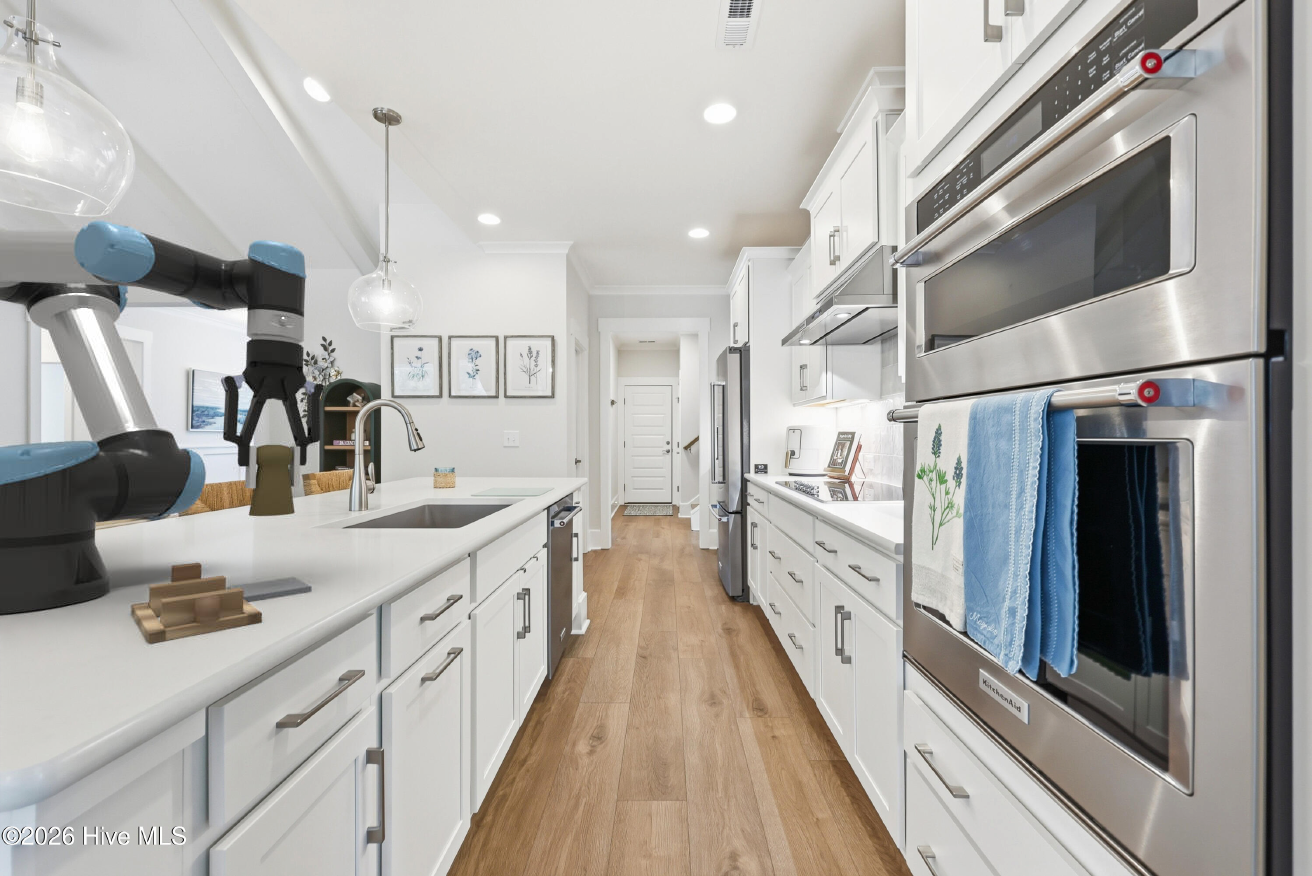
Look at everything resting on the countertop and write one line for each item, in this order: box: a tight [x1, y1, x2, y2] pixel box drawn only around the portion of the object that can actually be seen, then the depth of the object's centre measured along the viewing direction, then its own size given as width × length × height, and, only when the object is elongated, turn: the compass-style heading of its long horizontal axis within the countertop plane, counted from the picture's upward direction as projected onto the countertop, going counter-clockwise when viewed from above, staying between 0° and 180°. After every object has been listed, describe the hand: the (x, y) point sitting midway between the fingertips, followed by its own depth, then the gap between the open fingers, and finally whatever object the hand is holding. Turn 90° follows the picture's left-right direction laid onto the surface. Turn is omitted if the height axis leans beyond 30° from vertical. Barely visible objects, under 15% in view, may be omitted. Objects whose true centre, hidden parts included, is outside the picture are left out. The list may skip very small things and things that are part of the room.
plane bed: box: [130, 562, 263, 644], centre depth 74 cm, size 17×11×6 cm, turn 49°
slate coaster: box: [227, 576, 312, 603], centre depth 87 cm, size 9×9×1 cm
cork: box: [248, 444, 295, 517], centre depth 88 cm, size 6×6×11 cm
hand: (272, 486), depth 88 cm, fingers closed on cork, 5 cm apart
